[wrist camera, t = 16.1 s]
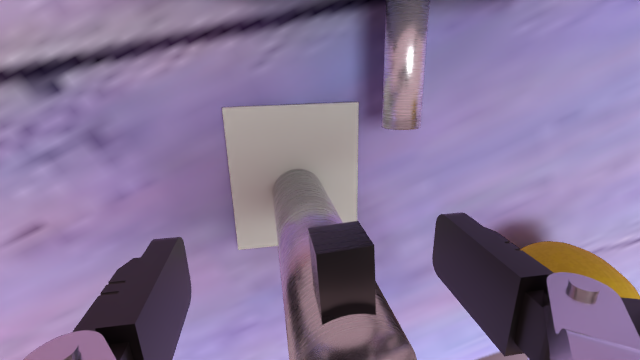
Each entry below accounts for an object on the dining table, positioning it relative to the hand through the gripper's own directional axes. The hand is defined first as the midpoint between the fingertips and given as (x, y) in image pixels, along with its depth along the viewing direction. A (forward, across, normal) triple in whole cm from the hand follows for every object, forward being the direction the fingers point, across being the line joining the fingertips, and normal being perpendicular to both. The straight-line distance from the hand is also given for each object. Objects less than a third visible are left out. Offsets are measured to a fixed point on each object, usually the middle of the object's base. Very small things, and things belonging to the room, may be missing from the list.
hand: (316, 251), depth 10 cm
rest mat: (+9, 0, 0) cm, 9 cm away
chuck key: (+8, 0, +1) cm, 8 cm away
